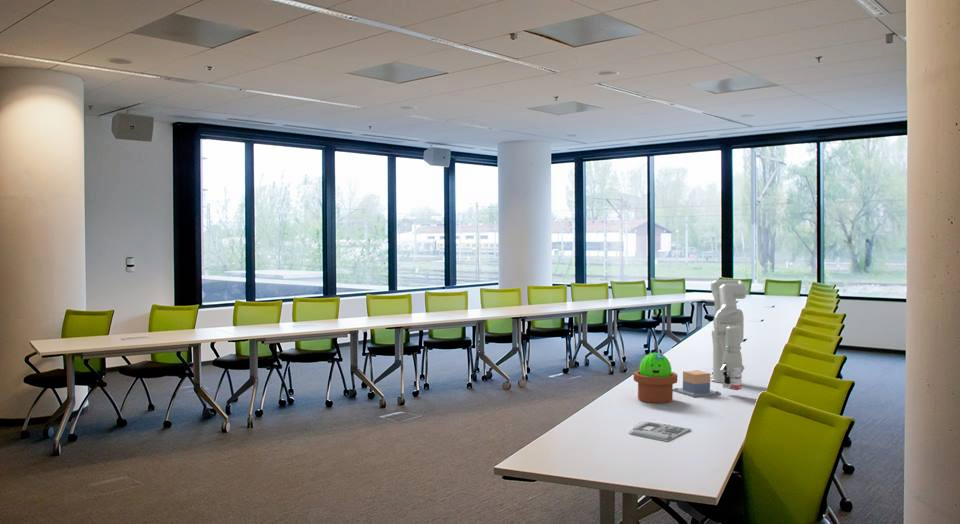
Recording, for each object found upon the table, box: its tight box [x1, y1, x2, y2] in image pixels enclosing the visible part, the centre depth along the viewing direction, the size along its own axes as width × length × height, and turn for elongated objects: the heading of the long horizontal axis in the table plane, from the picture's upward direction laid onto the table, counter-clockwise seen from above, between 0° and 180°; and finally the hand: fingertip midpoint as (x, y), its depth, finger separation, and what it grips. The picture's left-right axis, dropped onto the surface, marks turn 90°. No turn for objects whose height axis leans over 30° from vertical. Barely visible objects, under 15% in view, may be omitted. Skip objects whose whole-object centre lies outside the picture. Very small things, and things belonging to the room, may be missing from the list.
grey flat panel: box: [629, 421, 692, 443], centre depth 314 cm, size 23×3×20 cm
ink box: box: [722, 367, 743, 391], centre depth 388 cm, size 8×5×12 cm, turn 39°
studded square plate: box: [673, 369, 722, 398], centre depth 394 cm, size 18×18×11 cm
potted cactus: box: [633, 351, 678, 404], centre depth 377 cm, size 22×22×25 cm
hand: (732, 382), depth 388 cm, fingers closed on ink box, 6 cm apart
